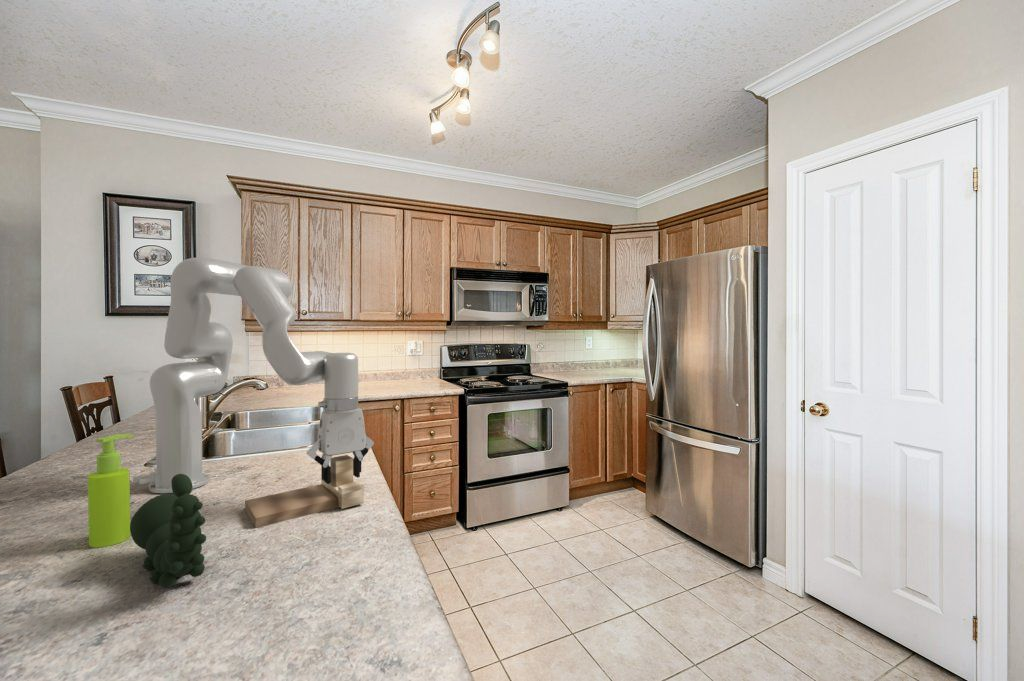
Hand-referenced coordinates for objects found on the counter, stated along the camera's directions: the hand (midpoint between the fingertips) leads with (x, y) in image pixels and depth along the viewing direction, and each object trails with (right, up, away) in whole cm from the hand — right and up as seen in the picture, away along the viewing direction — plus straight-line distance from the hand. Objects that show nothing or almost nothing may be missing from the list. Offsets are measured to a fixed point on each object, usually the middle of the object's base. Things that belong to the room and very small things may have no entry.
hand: (341, 478), depth 106 cm
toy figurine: (-17, -6, -31) cm, 36 cm away
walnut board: (-7, -5, -4) cm, 10 cm away
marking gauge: (0, -4, 0) cm, 4 cm away
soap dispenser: (-36, -5, -21) cm, 42 cm away
